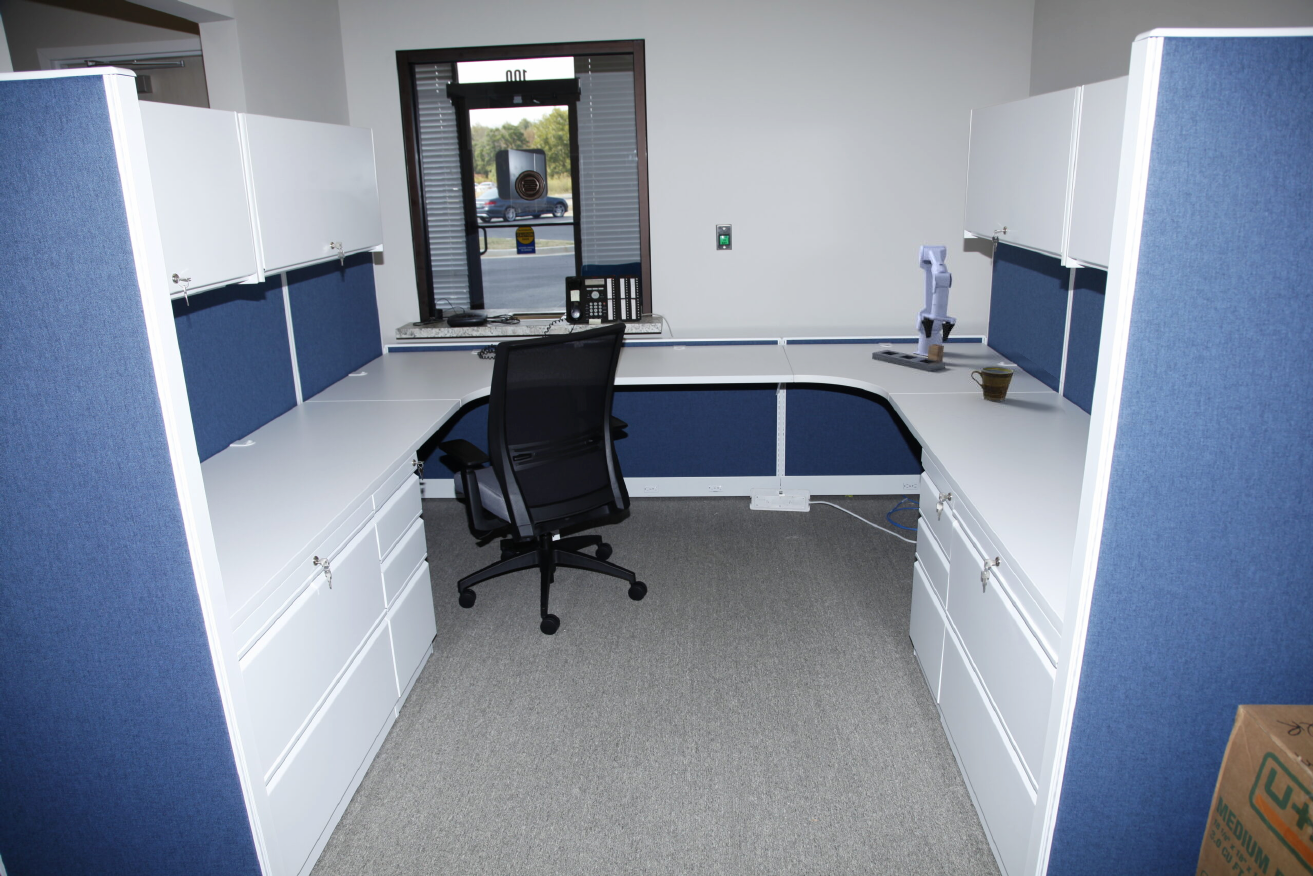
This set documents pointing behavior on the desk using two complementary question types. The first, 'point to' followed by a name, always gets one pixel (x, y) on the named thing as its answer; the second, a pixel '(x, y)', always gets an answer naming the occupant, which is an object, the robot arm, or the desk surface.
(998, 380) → the ceramic cup
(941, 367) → the grey square hole board
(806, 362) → the desk surface
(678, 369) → the desk surface
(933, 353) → the square peg
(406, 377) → the desk surface
